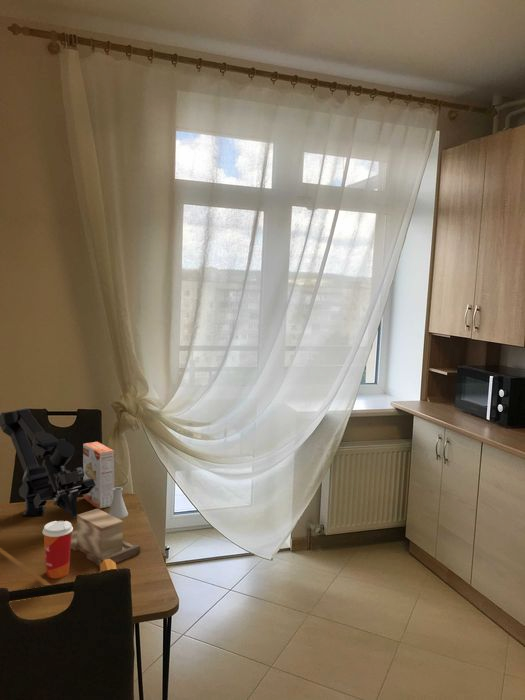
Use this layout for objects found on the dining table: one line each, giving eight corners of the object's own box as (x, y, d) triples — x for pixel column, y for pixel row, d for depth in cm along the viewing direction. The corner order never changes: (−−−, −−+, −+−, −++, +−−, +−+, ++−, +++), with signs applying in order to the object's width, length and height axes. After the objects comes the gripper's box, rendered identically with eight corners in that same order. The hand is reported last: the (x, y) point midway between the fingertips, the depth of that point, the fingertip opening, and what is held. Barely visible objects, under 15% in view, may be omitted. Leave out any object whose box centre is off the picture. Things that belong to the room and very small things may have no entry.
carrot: (101, 574, 153) (95, 561, 152) (117, 565, 155) (111, 553, 153) (116, 620, 136) (109, 607, 134) (133, 610, 137) (127, 597, 136)
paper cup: (47, 568, 153) (47, 519, 152) (76, 568, 154) (76, 519, 153) (38, 583, 146) (38, 531, 144) (68, 583, 146) (68, 531, 145)
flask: (122, 522, 185) (123, 493, 184) (102, 520, 186) (102, 491, 185) (132, 514, 192) (132, 486, 191) (112, 512, 193) (112, 484, 192)
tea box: (76, 544, 167) (76, 514, 166) (97, 536, 172) (97, 508, 171) (101, 559, 158) (101, 528, 157) (122, 550, 163) (123, 521, 162)
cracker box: (82, 499, 204) (82, 443, 202) (97, 495, 208) (98, 440, 206) (98, 511, 193) (98, 452, 191) (114, 507, 197) (115, 449, 195)
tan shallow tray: (38, 545, 166) (38, 536, 166) (103, 523, 183) (103, 515, 183) (86, 577, 150) (86, 566, 149) (153, 550, 166) (153, 540, 166)
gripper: (38, 466, 167) (56, 513, 162) (93, 454, 182) (112, 496, 176) (25, 484, 174) (43, 530, 168) (79, 471, 188) (97, 513, 182)
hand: (75, 516), depth 173 cm, fingers closed
